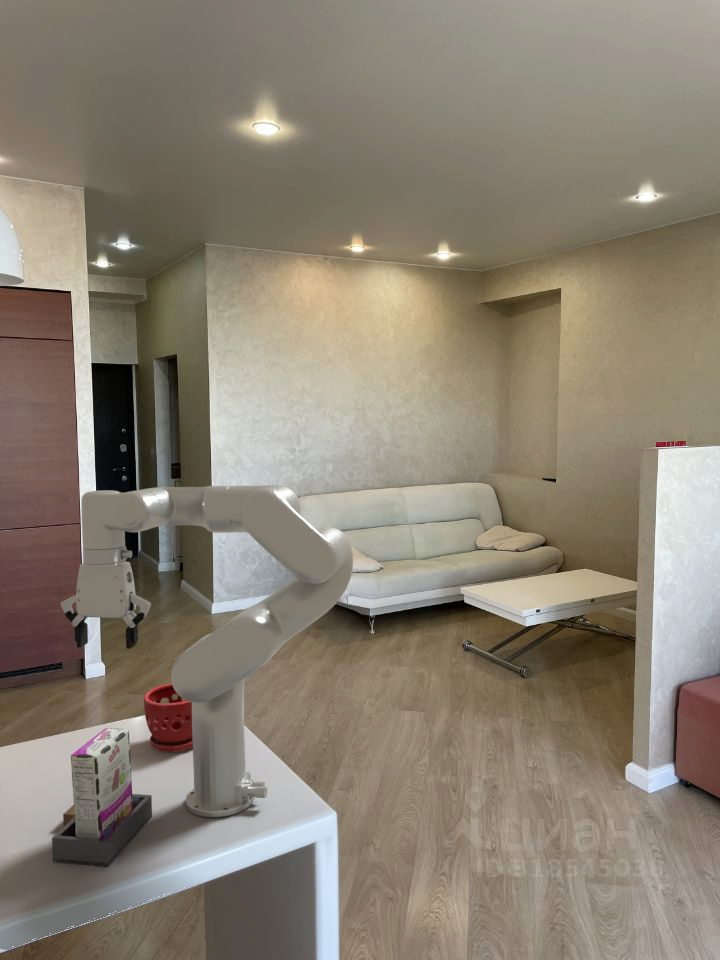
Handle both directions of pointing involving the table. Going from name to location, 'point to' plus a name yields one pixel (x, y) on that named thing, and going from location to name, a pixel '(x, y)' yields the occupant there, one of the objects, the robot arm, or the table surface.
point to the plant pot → (168, 720)
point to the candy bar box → (102, 783)
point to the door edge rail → (68, 815)
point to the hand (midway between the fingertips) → (106, 646)
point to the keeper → (101, 850)
